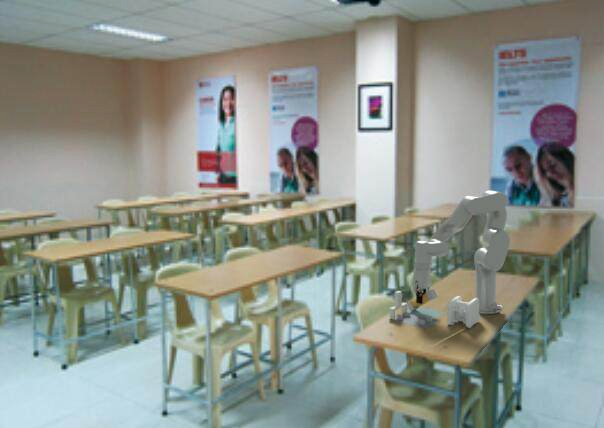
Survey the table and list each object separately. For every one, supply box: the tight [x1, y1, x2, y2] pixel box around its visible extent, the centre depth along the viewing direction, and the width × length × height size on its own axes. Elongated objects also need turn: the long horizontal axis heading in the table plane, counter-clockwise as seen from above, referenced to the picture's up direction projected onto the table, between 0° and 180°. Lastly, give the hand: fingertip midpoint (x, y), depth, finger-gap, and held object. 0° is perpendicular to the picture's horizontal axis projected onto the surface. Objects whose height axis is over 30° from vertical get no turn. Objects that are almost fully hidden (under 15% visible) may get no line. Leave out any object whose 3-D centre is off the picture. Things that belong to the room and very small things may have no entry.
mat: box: [407, 306, 447, 320], centre depth 255 cm, size 18×12×1 cm, turn 45°
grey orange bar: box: [406, 289, 439, 311], centre depth 253 cm, size 15×4×4 cm
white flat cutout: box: [389, 290, 408, 319], centre depth 249 cm, size 2×12×12 cm, turn 135°
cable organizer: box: [445, 295, 480, 329], centre depth 237 cm, size 15×11×12 cm
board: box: [389, 311, 441, 329], centre depth 243 cm, size 20×13×3 cm, turn 45°
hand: (421, 301), depth 254 cm, fingers closed on grey orange bar, 4 cm apart
